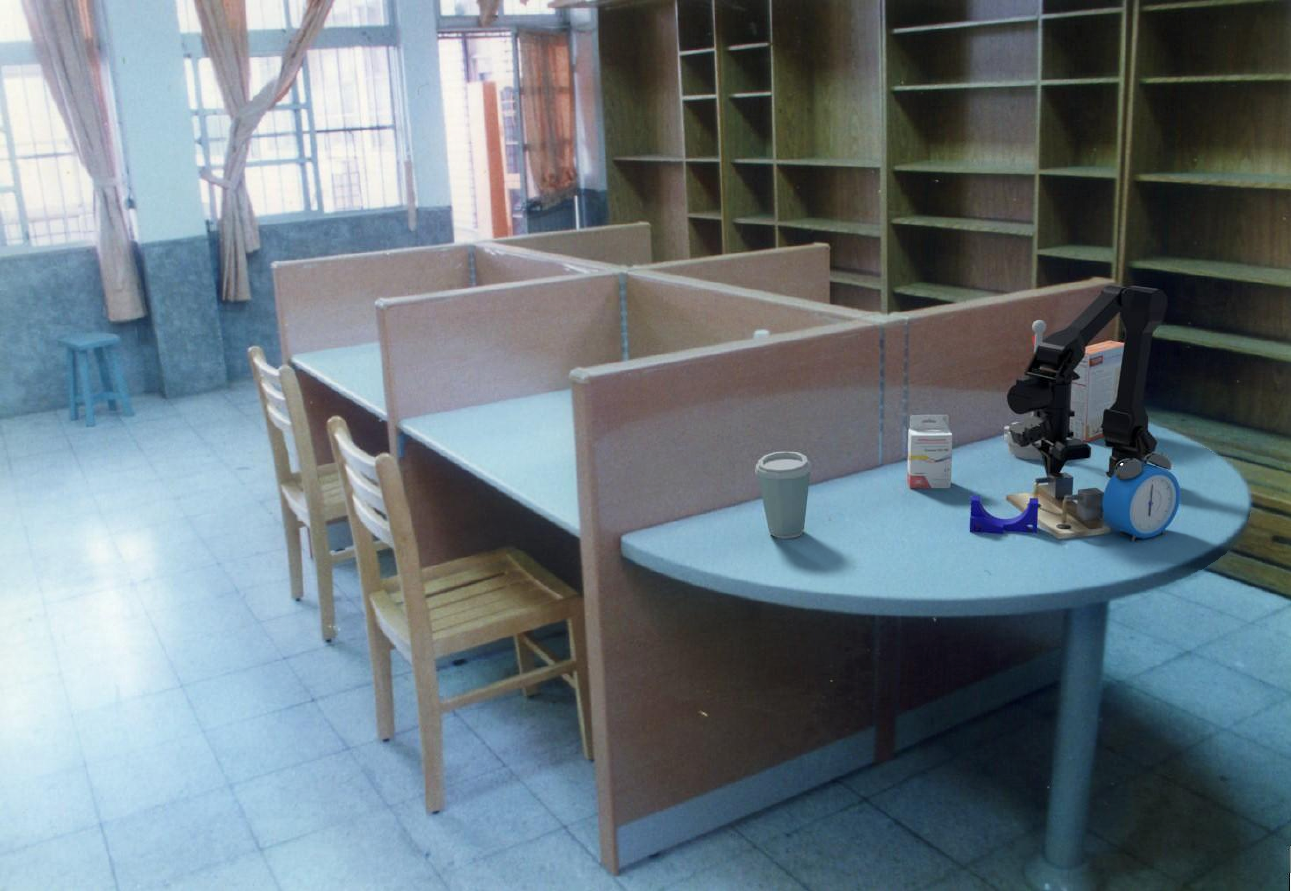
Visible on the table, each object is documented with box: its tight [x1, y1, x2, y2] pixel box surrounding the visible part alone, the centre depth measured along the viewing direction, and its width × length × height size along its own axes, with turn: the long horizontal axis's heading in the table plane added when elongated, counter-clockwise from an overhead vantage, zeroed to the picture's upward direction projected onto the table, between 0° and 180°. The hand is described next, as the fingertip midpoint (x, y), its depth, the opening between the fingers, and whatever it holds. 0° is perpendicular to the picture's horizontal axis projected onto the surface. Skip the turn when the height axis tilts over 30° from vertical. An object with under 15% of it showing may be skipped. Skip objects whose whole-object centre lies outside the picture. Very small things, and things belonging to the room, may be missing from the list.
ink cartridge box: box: [906, 414, 953, 489], centre depth 246 cm, size 9×5×15 cm, turn 84°
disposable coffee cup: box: [754, 450, 813, 540], centre depth 225 cm, size 11×11×15 cm
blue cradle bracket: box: [969, 494, 1038, 535], centre depth 222 cm, size 12×4×6 cm, turn 72°
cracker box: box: [1069, 340, 1124, 443], centre depth 272 cm, size 14×6×21 cm, turn 123°
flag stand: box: [1003, 319, 1047, 461], centre depth 261 cm, size 13×13×30 cm
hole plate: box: [1005, 484, 1111, 540], centre depth 227 cm, size 10×22×8 cm, turn 8°
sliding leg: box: [1033, 471, 1074, 498], centre depth 230 cm, size 7×3×5 cm, turn 98°
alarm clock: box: [1103, 452, 1181, 542], centre depth 215 cm, size 13×6×15 cm, turn 113°
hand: (1051, 480), depth 234 cm, fingers closed
